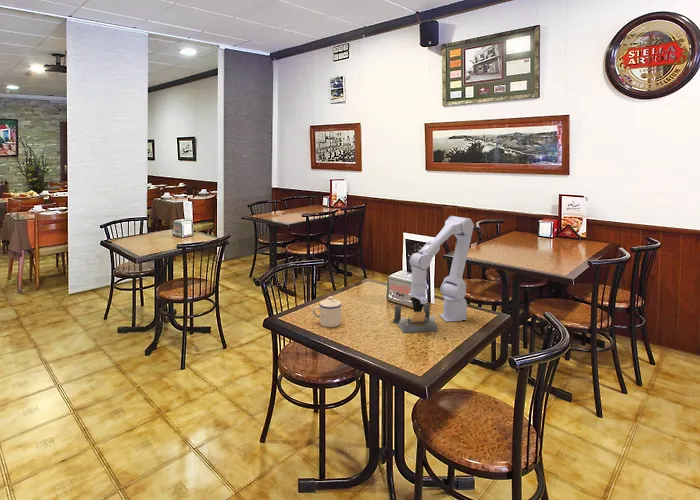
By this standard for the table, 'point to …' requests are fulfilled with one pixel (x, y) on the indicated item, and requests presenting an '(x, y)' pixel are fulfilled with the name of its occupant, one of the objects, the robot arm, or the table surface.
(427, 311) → the post
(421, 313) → the tan flat block
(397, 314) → the cord post
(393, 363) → the table surface
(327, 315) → the teacup with lid
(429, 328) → the panel
